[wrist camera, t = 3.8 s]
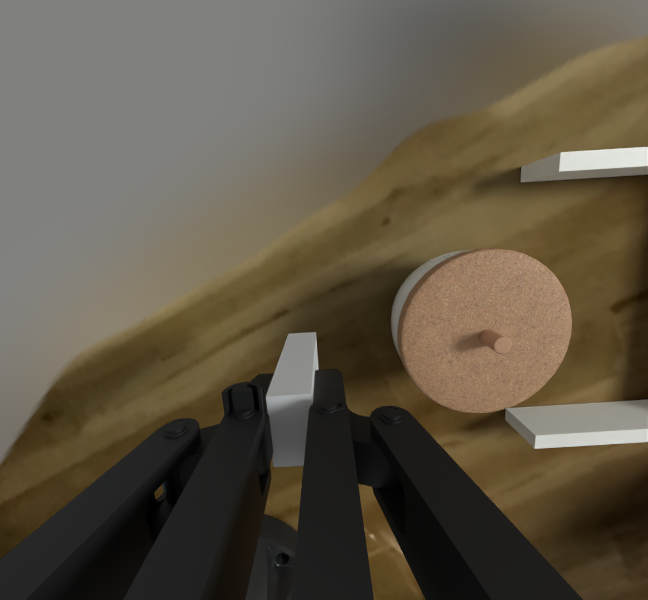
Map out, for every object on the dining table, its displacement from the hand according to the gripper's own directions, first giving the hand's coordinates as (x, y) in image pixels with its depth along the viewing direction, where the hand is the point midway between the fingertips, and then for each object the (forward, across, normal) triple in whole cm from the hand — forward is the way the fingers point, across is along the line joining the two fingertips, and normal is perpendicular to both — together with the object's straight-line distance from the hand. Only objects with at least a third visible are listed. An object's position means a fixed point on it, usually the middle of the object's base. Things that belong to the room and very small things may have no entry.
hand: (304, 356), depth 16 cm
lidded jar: (+10, +11, 0) cm, 15 cm away
